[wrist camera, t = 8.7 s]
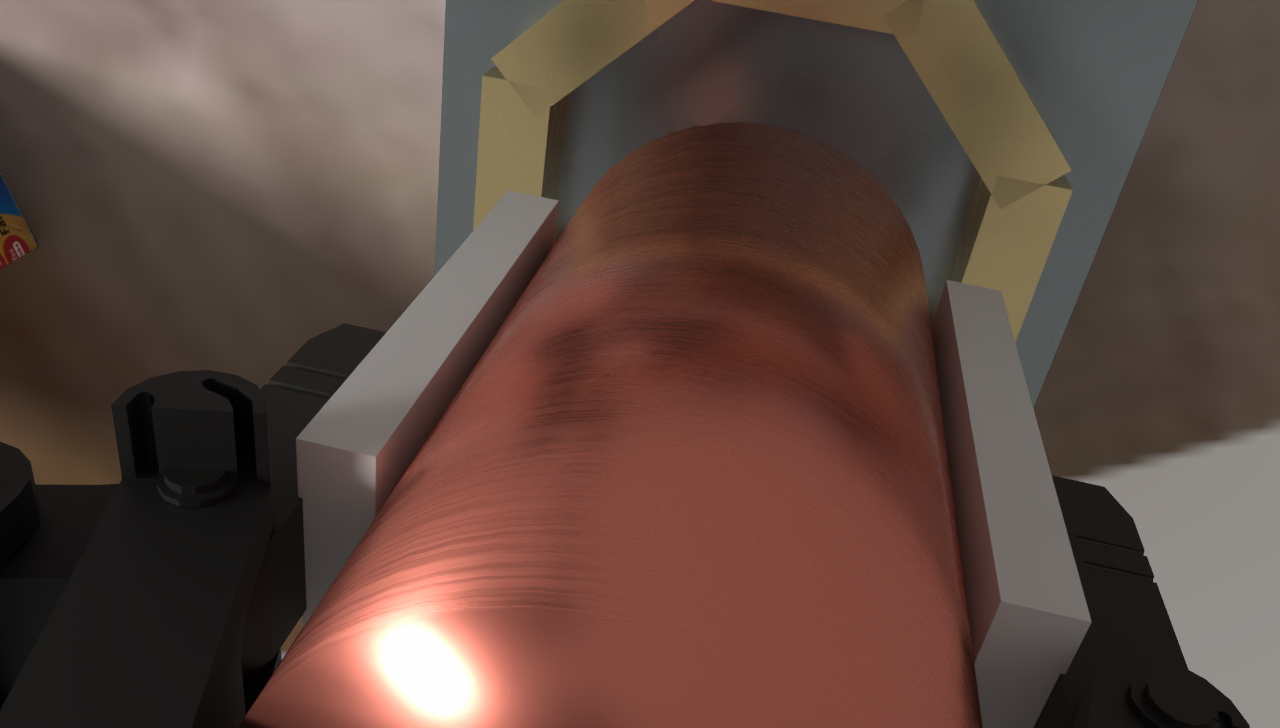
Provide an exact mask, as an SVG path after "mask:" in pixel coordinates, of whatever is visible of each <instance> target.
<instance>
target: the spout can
mask: <svg viewBox="0 0 1280 728" xmlns="http://www.w3.org/2000/svg"><path fill="white" fill-rule="evenodd" d="M238 728H983V727H982V719H981V711H980V703H979V695H978V688H977V680H976V672H975V664H974V656H973V649H972V641H971V633H970V625H969V618H968V610H967V602H966V594H965V586H964V579H963V571H962V563H961V555H960V547H959V540H958V532H957V524H956V516H955V508H954V501H953V493H952V485H951V477H950V470H949V462H948V454H947V446H946V438H945V431H944V423H943V415H942V407H941V399H940V392H939V384H938V376H937V368H936V360H935V353H934V345H933V337H932V329H931V322H930V314H929V306H928V298H927V290H926V283H925V275H924V270H923V265H922V261H921V256H920V251H919V249H918V246H917V243H916V241H915V238H914V235H913V233H912V230H911V228H910V226H909V225H908V223H907V221H906V219H905V217H904V215H903V214H902V212H901V210H900V208H899V207H898V206H897V204H896V203H895V202H894V200H893V199H892V198H891V196H890V195H889V194H888V192H887V191H886V190H885V188H884V187H883V186H882V185H881V184H880V183H879V182H878V181H877V180H876V179H875V178H874V177H873V176H872V175H871V174H870V173H869V172H868V171H866V170H865V169H864V168H862V167H861V166H860V165H859V164H857V163H856V162H855V161H853V160H852V159H851V158H849V157H848V156H847V155H845V154H843V153H841V152H840V151H838V150H836V149H834V148H833V147H831V146H829V145H827V144H826V143H824V142H821V141H819V140H816V139H814V138H812V137H809V136H807V135H804V134H802V133H799V132H795V131H791V130H788V129H784V128H780V127H776V126H770V125H763V124H755V123H716V124H708V125H701V126H695V127H691V128H687V129H684V130H680V131H676V132H672V133H670V134H668V135H665V136H663V137H660V138H658V139H656V140H653V141H651V142H649V143H647V144H645V145H644V146H642V147H640V148H638V149H637V150H635V151H633V152H632V153H630V154H628V155H627V156H626V157H625V158H623V159H622V160H621V161H619V162H618V163H617V164H616V165H614V166H613V167H612V168H611V169H610V170H609V171H608V172H607V173H606V174H605V175H604V176H603V177H602V178H601V179H600V180H599V181H598V182H597V183H596V184H595V185H594V187H593V188H592V189H591V191H590V192H589V194H588V195H587V197H586V198H585V199H584V201H583V202H582V204H581V205H580V207H579V208H578V210H577V211H576V213H575V214H574V216H573V217H572V219H571V220H570V222H569V223H568V225H567V226H566V228H565V229H564V231H563V233H562V234H561V236H560V237H559V239H558V240H557V242H556V243H555V245H554V246H553V248H552V249H551V251H550V252H549V254H548V255H547V257H546V258H545V260H544V261H543V263H542V265H541V266H540V268H539V269H538V271H537V272H536V274H535V275H534V277H533V278H532V280H531V281H530V283H529V284H528V286H527V287H526V289H525V290H524V292H523V293H522V295H521V297H520V298H519V300H518V301H517V303H516V304H515V306H514V307H513V309H512V310H511V312H510V313H509V315H508V316H507V318H506V319H505V321H504V322H503V324H502V325H501V327H500V328H499V330H498V332H497V333H496V335H495V336H494V338H493V339H492V341H491V342H490V344H489V345H488V347H487V348H486V350H485V351H484V353H483V354H482V356H481V357H480V359H479V360H478V362H477V364H476V365H475V367H474V368H473V370H472V371H471V373H470V374H469V376H468V377H467V379H466V380H465V382H464V383H463V385H462V386H461V388H460V389H459V391H458V392H457V394H456V396H455V397H454V399H453V400H452V402H451V403H450V405H449V406H448V408H447V409H446V411H445V412H444V414H443V415H442V417H441V418H440V420H439V421H438V423H437V424H436V426H435V428H434V429H433V431H432V432H431V434H430V435H429V437H428V438H427V440H426V441H425V443H424V444H423V446H422V447H421V449H420V450H419V452H418V453H417V455H416V456H415V458H414V460H413V461H412V463H411V464H410V466H409V467H408V469H407V470H406V472H405V473H404V475H403V476H402V478H401V479H400V481H399V482H398V484H397V485H396V487H395V488H394V490H393V492H392V493H391V495H390V496H389V498H388V499H387V501H386V502H385V504H384V505H383V507H382V508H381V510H380V511H379V513H378V514H377V516H376V517H375V519H374V520H373V522H372V524H371V525H370V527H369V528H368V530H367V531H366V533H365V534H364V536H363V537H362V539H361V540H360V542H359V543H358V545H357V546H356V548H355V549H354V551H353V552H352V554H351V556H350V557H349V559H348V560H347V562H346V563H345V565H344V566H343V568H342V569H341V571H340V572H339V574H338V575H337V577H336V578H335V580H334V581H333V583H332V584H331V586H330V588H329V589H328V591H327V592H326V594H325V595H324V597H323V598H322V600H321V601H320V603H319V604H318V606H317V607H316V609H315V610H314V612H313V613H312V615H311V616H310V618H309V620H308V621H307V623H306V624H305V626H304V627H303V629H302V630H301V632H300V633H299V635H298V636H297V638H296V639H295V641H294V642H293V644H292V645H291V647H290V648H289V650H288V651H287V653H286V655H285V656H284V658H283V659H282V661H281V662H280V664H279V665H278V667H277V668H276V670H275V671H274V673H273V674H272V676H271V677H270V679H269V680H268V682H267V683H266V685H265V687H264V688H263V690H262V691H261V693H260V694H259V696H258V697H257V699H256V700H255V702H254V703H253V705H252V706H251V708H250V709H249V711H248V712H247V714H246V715H245V717H244V719H243V720H242V722H241V723H240V725H239V726H238Z"/></svg>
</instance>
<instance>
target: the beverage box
mask: <svg viewBox="0 0 1280 728" xmlns="http://www.w3.org/2000/svg"><path fill="white" fill-rule="evenodd" d="M37 247H38V246H37V244H36V242H35V240H34V238H33V236H32V234H31V232H30V230H29V228H28V226H27V224H26V222H25V220H24V218H23V216H22V214H21V212H20V210H19V208H18V206H17V204H16V202H15V200H14V198H13V196H12V194H11V192H10V190H9V188H8V186H7V184H6V182H5V180H4V178H3V176H2V174H1V172H0V269H1V268H2V267H4V266H6V265H7V264H9V263H11V262H13V261H14V260H16V259H18V258H20V257H21V256H23V255H25V254H27V253H28V252H30V251H32V250H33V249H35V248H37Z"/></svg>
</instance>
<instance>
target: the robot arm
mask: <svg viewBox="0 0 1280 728" xmlns="http://www.w3.org/2000/svg"><path fill="white" fill-rule="evenodd" d="M558 203H559V200H554V199H549V198H544V197H539V196H534V195H529V194H524V193H519V192H514V191H510V190H508V191H507V192H506V193H505V194H504V196H503V197H502V198H501V199H500V200H499V201H498V203H497V204H496V205H495V206H494V207H493V208H492V210H491V211H490V212H489V213H488V214H487V215H486V217H485V218H484V219H483V220H482V221H481V222H480V224H479V225H478V226H477V227H476V228H475V230H474V231H473V232H472V233H471V234H470V235H469V237H468V238H467V239H466V240H465V241H464V242H463V244H462V245H461V246H460V247H459V248H458V249H457V251H456V252H455V253H454V254H453V255H452V256H451V258H450V259H449V260H448V261H447V262H446V263H445V265H444V266H443V267H442V268H441V269H440V270H439V272H438V273H437V274H436V275H435V276H434V277H433V279H432V280H431V281H430V282H429V283H428V285H427V286H426V287H425V288H424V289H423V290H422V292H421V293H420V294H419V295H418V296H417V297H416V299H415V300H414V301H413V302H412V303H411V304H410V306H409V307H408V308H407V309H406V310H405V311H404V313H403V314H402V315H401V316H400V317H399V318H398V320H397V321H396V322H395V323H394V324H393V325H392V327H391V328H390V329H389V330H388V331H387V333H386V332H381V331H377V330H372V329H368V328H363V327H358V326H354V325H349V324H345V323H344V324H342V325H340V326H338V327H335V328H333V329H331V330H329V331H327V332H324V333H322V334H320V335H318V336H316V337H313V338H311V339H309V340H308V341H307V342H306V343H305V344H304V345H303V346H302V347H301V348H300V349H299V350H298V351H297V352H296V353H295V355H294V356H293V357H292V358H291V359H290V360H289V361H288V362H287V366H286V367H285V366H283V367H282V368H281V369H280V370H279V371H278V372H277V373H276V374H275V375H274V376H273V377H272V378H271V379H270V381H269V385H264V386H263V387H262V388H261V389H259V388H258V387H257V385H256V384H254V383H251V382H249V381H247V380H245V379H243V378H241V377H239V376H237V375H233V374H227V373H221V372H215V371H210V370H206V371H179V372H175V373H170V374H166V375H162V376H157V377H153V378H150V379H148V380H146V381H144V382H142V383H140V384H137V385H135V386H133V387H131V388H129V389H127V390H126V391H125V392H124V393H123V394H122V395H121V396H120V397H119V398H118V399H117V400H116V401H115V402H114V403H113V404H112V405H111V406H112V412H113V419H114V426H115V433H116V439H117V446H118V453H119V460H120V466H121V473H122V481H121V482H120V484H110V485H35V481H34V477H33V472H32V467H31V462H30V461H29V460H28V459H27V457H26V456H25V455H24V454H23V453H22V452H21V451H20V450H19V449H18V448H15V447H12V446H10V445H7V444H4V443H2V442H0V728H238V726H239V725H240V723H241V722H242V720H243V719H244V717H245V715H246V714H247V712H248V711H249V709H250V708H251V706H252V705H253V703H254V702H255V700H256V699H257V697H258V696H259V694H260V693H261V691H262V690H263V688H264V687H265V685H266V683H267V682H268V680H269V679H270V677H271V676H272V674H273V673H274V671H275V670H276V668H277V667H278V665H279V664H280V662H281V661H282V660H281V646H282V645H283V643H284V642H285V640H286V639H287V637H288V636H289V634H290V633H291V631H292V630H293V628H294V627H295V625H296V624H297V622H298V621H299V619H300V618H301V616H302V615H303V627H304V626H305V624H306V623H307V621H308V620H309V618H310V616H311V615H312V613H313V612H314V610H315V609H316V607H317V606H318V604H319V603H320V601H321V600H322V598H323V597H324V595H325V594H326V592H327V591H328V589H329V588H330V586H331V584H332V583H333V581H334V580H335V578H336V577H337V575H338V574H339V572H340V571H341V569H342V568H343V566H344V565H345V563H346V562H347V560H348V559H349V557H350V556H351V554H352V552H353V551H354V549H355V548H356V546H357V545H358V543H359V542H360V540H361V539H362V537H363V536H364V534H365V533H366V531H367V530H368V528H369V527H370V525H371V524H372V522H373V520H374V519H375V517H376V516H377V514H378V513H379V511H380V510H381V508H382V507H383V505H384V504H385V502H386V501H387V499H388V498H389V496H390V495H391V493H392V492H393V490H394V488H395V487H396V485H397V484H398V482H399V481H400V479H401V478H402V476H403V475H404V473H405V472H406V470H407V469H408V467H409V466H410V464H411V463H412V461H413V460H414V458H415V456H416V455H417V453H418V452H419V450H420V449H421V447H422V446H423V444H424V443H425V441H426V440H427V438H428V437H429V435H430V434H431V432H432V431H433V429H434V428H435V426H436V424H437V423H438V421H439V420H440V418H441V417H442V415H443V414H444V412H445V411H446V409H447V408H448V406H449V405H450V403H451V402H452V400H453V399H454V397H455V396H456V394H457V392H458V391H459V389H460V388H461V386H462V385H463V383H464V382H465V380H466V379H467V377H468V376H469V374H470V373H471V371H472V370H473V368H474V367H475V365H476V364H477V362H478V360H479V359H480V357H481V356H482V354H483V353H484V351H485V350H486V348H487V347H488V345H489V344H490V342H491V341H492V339H493V338H494V336H495V335H496V333H497V332H498V330H499V328H500V327H501V325H502V324H503V322H504V321H505V319H506V318H507V316H508V315H509V313H510V312H511V310H512V309H513V307H514V306H515V304H516V303H517V301H518V300H519V298H520V297H521V295H522V293H523V292H524V290H525V289H526V287H527V286H528V284H529V283H530V281H531V280H532V278H533V277H534V275H535V274H536V272H537V271H538V269H539V268H540V266H541V265H542V263H543V261H544V260H545V258H546V257H547V255H548V254H549V252H550V251H551V249H552V248H553V246H554V241H555V231H556V222H557V213H558ZM931 329H932V337H933V345H934V353H935V360H936V368H937V376H938V384H939V392H940V399H941V407H942V415H943V423H944V431H945V438H946V446H947V454H948V462H949V470H950V477H951V485H952V493H953V501H954V508H955V516H956V524H957V532H958V540H959V547H960V555H961V563H962V571H963V579H964V586H965V594H966V602H967V610H968V618H969V625H970V633H971V641H972V649H973V656H974V664H975V672H976V680H977V688H978V695H979V703H980V711H981V719H982V727H983V728H1250V727H1249V724H1248V723H1247V721H1246V720H1245V719H1244V717H1243V716H1242V715H1241V713H1240V712H1239V711H1238V709H1237V708H1236V707H1235V705H1234V704H1233V703H1232V701H1231V700H1230V699H1229V698H1227V697H1226V696H1225V695H1224V694H1222V693H1221V692H1220V691H1219V690H1218V689H1216V688H1215V687H1214V686H1213V685H1212V684H1210V683H1209V682H1208V681H1207V680H1206V679H1204V678H1202V677H1200V676H1198V675H1196V674H1194V673H1193V672H1191V671H1189V670H1188V668H1187V665H1186V662H1185V659H1184V657H1183V654H1182V652H1181V648H1180V646H1179V643H1178V640H1177V637H1176V635H1175V632H1174V630H1173V627H1172V624H1171V621H1170V619H1169V616H1168V613H1167V610H1166V608H1165V605H1164V602H1163V600H1162V597H1161V594H1160V591H1159V588H1158V586H1157V583H1154V582H1153V578H1154V575H1153V572H1152V569H1151V567H1150V564H1149V561H1148V558H1147V557H1146V556H1143V554H1144V548H1143V545H1142V542H1141V540H1140V537H1139V534H1138V531H1137V529H1136V526H1135V523H1134V520H1133V518H1132V517H1131V516H1130V515H1129V514H1128V513H1127V512H1126V510H1124V508H1123V507H1122V506H1121V505H1120V504H1119V503H1118V502H1117V500H1116V499H1115V498H1114V497H1113V496H1112V495H1111V494H1110V493H1109V491H1108V490H1107V489H1106V488H1105V487H1102V486H1097V485H1092V484H1088V483H1084V482H1079V481H1075V480H1070V479H1066V478H1061V477H1056V476H1052V475H1051V472H1050V468H1049V464H1048V461H1047V457H1046V453H1045V450H1044V446H1043V442H1042V439H1041V435H1040V431H1039V428H1038V424H1037V420H1036V417H1035V413H1034V409H1033V406H1032V402H1031V398H1030V395H1029V391H1028V387H1027V384H1026V380H1025V376H1024V373H1023V369H1022V366H1021V362H1020V358H1019V355H1018V351H1017V347H1016V344H1015V340H1014V336H1013V333H1012V329H1011V325H1010V322H1009V318H1008V314H1007V311H1006V307H1005V303H1004V300H1003V296H1002V292H1001V291H999V290H994V289H989V288H984V287H979V286H974V285H969V284H965V283H960V282H955V281H950V280H946V283H945V286H944V289H943V292H942V295H941V298H940V301H939V304H938V307H937V310H936V313H935V316H934V320H933V323H932V326H931Z"/></svg>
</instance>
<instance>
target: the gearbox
mask: <svg viewBox="0 0 1280 728" xmlns="http://www.w3.org/2000/svg"><path fill="white" fill-rule="evenodd" d="M1197 2H1198V0H446V11H445V36H444V61H443V86H442V111H441V136H440V161H439V186H438V211H437V236H436V261H435V275H436V274H437V273H438V272H439V270H440V269H441V268H442V267H443V266H444V265H445V263H446V262H447V261H448V260H449V259H450V258H451V256H452V255H453V254H454V253H455V252H456V251H457V249H458V248H459V247H460V246H461V245H462V244H463V242H464V241H465V240H466V239H467V238H468V237H469V235H470V234H471V233H472V232H473V231H474V230H475V228H476V227H477V226H478V225H479V224H480V222H481V221H482V220H483V219H484V218H485V217H486V215H487V214H488V213H489V212H490V211H491V210H492V208H493V207H494V206H495V205H496V204H497V203H498V201H499V200H500V199H501V198H502V197H503V196H504V194H505V193H506V192H507V191H508V190H510V191H514V192H519V193H524V194H529V195H534V196H539V197H544V198H549V199H554V200H559V203H558V213H557V222H556V231H555V241H554V245H555V243H556V242H557V240H558V239H559V237H560V236H561V234H562V233H563V231H564V229H565V228H566V226H567V225H568V223H569V222H570V220H571V219H572V217H573V216H574V214H575V213H576V211H577V210H578V208H579V207H580V205H581V204H582V202H583V201H584V199H585V198H586V197H587V195H588V194H589V192H590V191H591V189H592V188H593V187H594V185H595V184H596V183H597V182H598V181H599V180H600V179H601V178H602V177H603V176H604V175H605V174H606V173H607V172H608V171H609V170H610V169H611V168H612V167H613V166H614V165H616V164H617V163H618V162H619V161H621V160H622V159H623V158H625V157H626V156H627V155H628V154H630V153H632V152H633V151H635V150H637V149H638V148H640V147H642V146H644V145H645V144H647V143H649V142H651V141H653V140H656V139H658V138H660V137H663V136H665V135H668V134H670V133H672V132H676V131H680V130H684V129H687V128H691V127H695V126H701V125H708V124H716V123H755V124H763V125H770V126H776V127H780V128H784V129H788V130H791V131H795V132H799V133H802V134H804V135H807V136H809V137H812V138H814V139H816V140H819V141H821V142H824V143H826V144H827V145H829V146H831V147H833V148H834V149H836V150H838V151H840V152H841V153H843V154H845V155H847V156H848V157H849V158H851V159H852V160H853V161H855V162H856V163H857V164H859V165H860V166H861V167H862V168H864V169H865V170H866V171H868V172H869V173H870V174H871V175H872V176H873V177H874V178H875V179H876V180H877V181H878V182H879V183H880V184H881V185H882V186H883V187H884V188H885V190H886V191H887V192H888V194H889V195H890V196H891V198H892V199H893V200H894V202H895V203H896V204H897V206H898V207H899V208H900V210H901V212H902V214H903V215H904V217H905V219H906V221H907V223H908V225H909V226H910V228H911V230H912V233H913V235H914V238H915V241H916V243H917V246H918V249H919V251H920V256H921V261H922V265H923V270H924V275H925V283H926V290H927V298H928V306H929V314H930V322H931V326H932V323H933V320H934V316H935V313H936V310H937V307H938V304H939V301H940V298H941V295H942V292H943V289H944V286H945V283H946V280H950V281H955V282H960V283H965V284H969V285H974V286H979V287H984V288H989V289H994V290H999V291H1001V292H1002V296H1003V300H1004V303H1005V307H1006V311H1007V314H1008V318H1009V322H1010V325H1011V329H1012V333H1013V336H1014V340H1015V344H1016V347H1017V351H1018V355H1019V358H1020V362H1021V366H1022V369H1023V373H1024V376H1025V380H1026V384H1027V387H1028V391H1029V395H1030V398H1031V402H1032V406H1033V408H1034V406H1035V403H1036V401H1037V398H1038V396H1039V393H1040V391H1041V388H1042V386H1043V383H1044V381H1045V378H1046V376H1047V373H1048V371H1049V368H1050V366H1051V363H1052V361H1053V359H1054V356H1055V354H1056V351H1057V349H1058V346H1059V344H1060V341H1061V339H1062V336H1063V334H1064V331H1065V329H1066V326H1067V324H1068V321H1069V319H1070V316H1071V314H1072V312H1073V309H1074V307H1075V304H1076V302H1077V299H1078V297H1079V294H1080V292H1081V289H1082V287H1083V284H1084V282H1085V279H1086V277H1087V274H1088V272H1089V269H1090V267H1091V264H1092V262H1093V260H1094V257H1095V255H1096V252H1097V250H1098V247H1099V245H1100V242H1101V240H1102V237H1103V235H1104V232H1105V230H1106V227H1107V225H1108V222H1109V220H1110V217H1111V215H1112V213H1113V210H1114V208H1115V205H1116V203H1117V200H1118V198H1119V195H1120V193H1121V190H1122V188H1123V185H1124V183H1125V180H1126V178H1127V175H1128V173H1129V170H1130V168H1131V165H1132V163H1133V161H1134V158H1135V156H1136V153H1137V151H1138V148H1139V146H1140V143H1141V141H1142V138H1143V136H1144V133H1145V131H1146V128H1147V126H1148V123H1149V121H1150V118H1151V116H1152V114H1153V111H1154V109H1155V106H1156V104H1157V101H1158V99H1159V96H1160V94H1161V91H1162V89H1163V86H1164V84H1165V81H1166V79H1167V76H1168V74H1169V71H1170V69H1171V67H1172V64H1173V62H1174V59H1175V57H1176V54H1177V52H1178V49H1179V47H1180V44H1181V42H1182V39H1183V37H1184V34H1185V32H1186V29H1187V27H1188V24H1189V22H1190V19H1191V17H1192V15H1193V12H1194V10H1195V7H1196V5H1197Z"/></svg>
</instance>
